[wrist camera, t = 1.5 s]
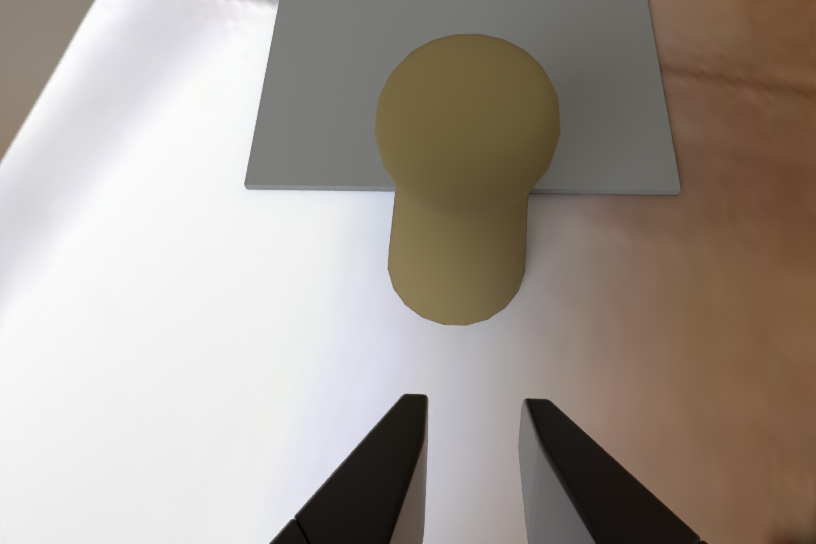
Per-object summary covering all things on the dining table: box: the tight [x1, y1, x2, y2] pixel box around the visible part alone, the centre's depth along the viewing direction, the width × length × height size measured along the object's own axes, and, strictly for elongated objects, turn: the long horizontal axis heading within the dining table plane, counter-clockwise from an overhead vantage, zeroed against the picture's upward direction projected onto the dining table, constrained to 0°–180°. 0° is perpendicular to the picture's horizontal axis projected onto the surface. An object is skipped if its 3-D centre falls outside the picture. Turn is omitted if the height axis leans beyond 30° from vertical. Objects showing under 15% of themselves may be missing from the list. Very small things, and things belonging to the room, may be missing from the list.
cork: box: [375, 34, 561, 325], centre depth 19 cm, size 6×6×11 cm
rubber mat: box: [244, 0, 681, 195], centre depth 28 cm, size 16×20×1 cm
